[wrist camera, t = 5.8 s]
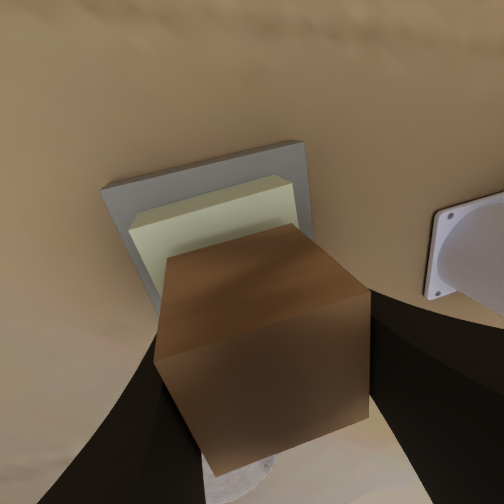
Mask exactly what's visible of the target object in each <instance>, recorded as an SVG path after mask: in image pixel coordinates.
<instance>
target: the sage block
mask: <svg viewBox="0 0 504 504" xmlns="http://www.w3.org/2000/svg"><path fill="white" fill-rule="evenodd" d="M290 223H292V224H294V225H295V226H296V227H297V228H298V229H299V225H298V219H297V212H296V206H295V199H294V192H293V186H292V183H291V182H289V181H287V180H285V179H283V178H281V177H279V176H277V175H275V174H273V175H269V176H266V177H262V178H259V179H255V180H252V181H248V182H245V183H241V184H237V185H234V186H230V187H227V188H223V189H220V190H216V191H213V192H209V193H206V194H202V195H198V196H195V197H191V198H188V199H184V200H181V201H177V202H174V203H170V204H167V205H163V206H160V207H156V208H152V209H149V210H145V211H142V212H138V214H137V215H136V217H135V219H134V221H133V223H132V224H131V226H130V228H129V230H128V231H129V233H130V235H131V237H132V239H133V241H134V243H135V246H136V248H137V250H138V252H139V254H140V256H141V258H142V260H143V262H144V264H145V266H146V268H147V270H148V272H149V274H150V276H151V278H152V280H153V283H154V285H155V287H156V289H157V291H158V293H159V295H160V297H161V299H162V292H163V285H164V277H165V270H166V262H167V258H169V257H172V256H176V255H179V254H183V253H187V252H190V251H194V250H197V249H201V248H204V247H208V246H212V245H215V244H219V243H222V242H226V241H229V240H233V239H236V238H240V237H244V236H247V235H251V234H254V233H258V232H261V231H265V230H269V229H272V228H276V227H279V226H283V225H286V224H290Z"/></svg>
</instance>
